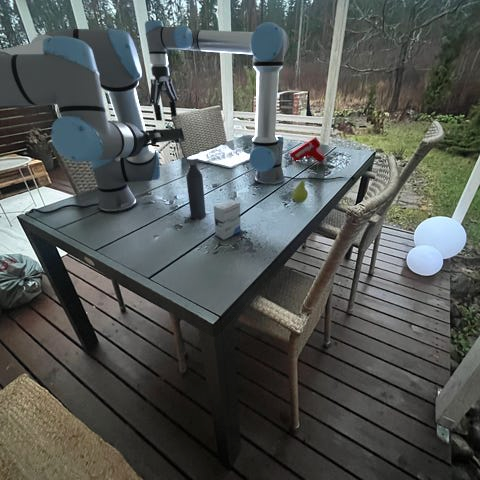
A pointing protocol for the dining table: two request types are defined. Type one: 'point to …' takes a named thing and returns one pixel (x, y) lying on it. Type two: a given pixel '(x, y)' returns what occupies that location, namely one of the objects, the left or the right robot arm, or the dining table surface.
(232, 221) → the ink box
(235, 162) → the relief map
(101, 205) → the left robot arm
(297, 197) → the fruit
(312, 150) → the toy gun
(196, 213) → the bottle
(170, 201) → the dining table surface
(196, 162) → the cap
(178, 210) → the dining table surface
